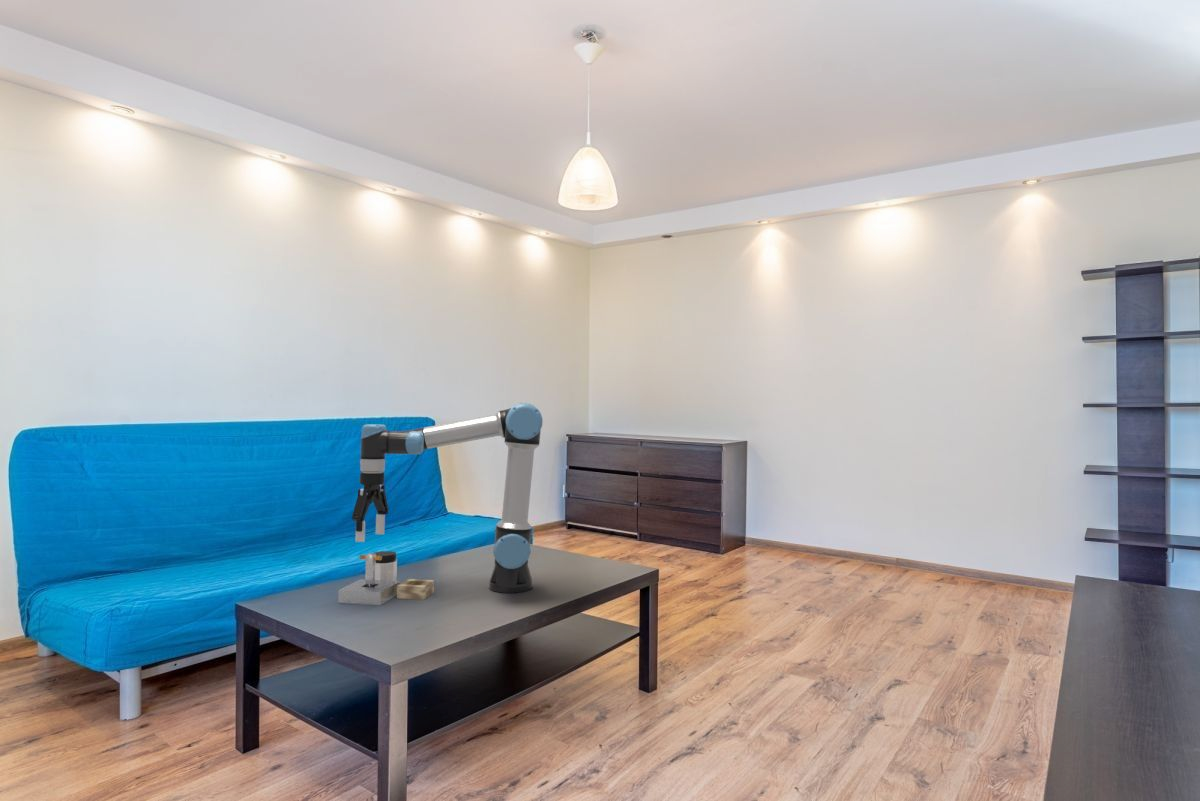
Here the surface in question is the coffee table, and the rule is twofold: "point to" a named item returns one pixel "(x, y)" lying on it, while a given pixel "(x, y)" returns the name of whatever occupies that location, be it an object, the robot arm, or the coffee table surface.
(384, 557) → the jar
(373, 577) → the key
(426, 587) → the holder
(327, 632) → the coffee table surface
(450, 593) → the coffee table surface
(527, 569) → the robot arm
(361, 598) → the block
